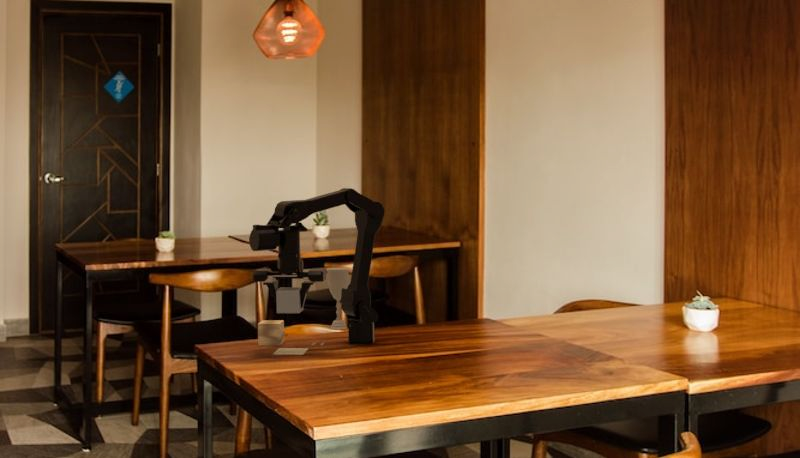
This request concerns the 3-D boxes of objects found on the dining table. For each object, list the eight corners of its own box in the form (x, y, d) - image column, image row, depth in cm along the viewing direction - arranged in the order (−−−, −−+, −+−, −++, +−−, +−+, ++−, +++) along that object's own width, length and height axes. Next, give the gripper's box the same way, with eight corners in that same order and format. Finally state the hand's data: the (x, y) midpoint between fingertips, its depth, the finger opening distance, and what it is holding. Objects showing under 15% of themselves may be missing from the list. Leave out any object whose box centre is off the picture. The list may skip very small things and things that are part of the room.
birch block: (284, 341, 282) (283, 320, 281) (280, 345, 276) (279, 323, 275) (263, 341, 282) (262, 320, 282) (258, 345, 276) (257, 323, 276)
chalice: (352, 326, 308) (351, 267, 306) (349, 330, 301) (348, 270, 300) (328, 326, 308) (327, 267, 307) (324, 329, 302) (323, 270, 300)
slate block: (303, 309, 270) (303, 287, 269) (299, 313, 264) (299, 290, 263) (281, 309, 270) (280, 287, 270) (276, 313, 264) (276, 290, 264)
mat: (308, 349, 271) (308, 348, 271) (303, 355, 263) (303, 354, 263) (278, 349, 272) (278, 348, 272) (272, 355, 264) (272, 353, 264)
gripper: (328, 246, 273) (329, 303, 274) (260, 246, 274) (261, 303, 275) (322, 250, 262) (323, 309, 263) (251, 250, 263) (252, 309, 264)
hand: (290, 307), depth 267 cm, fingers closed on slate block, 6 cm apart
